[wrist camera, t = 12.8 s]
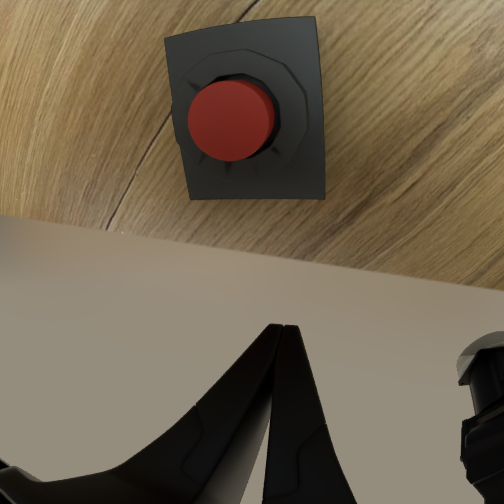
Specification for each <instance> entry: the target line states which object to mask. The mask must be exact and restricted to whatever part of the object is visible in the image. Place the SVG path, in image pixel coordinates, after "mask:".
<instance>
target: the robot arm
mask: <svg viewBox="0 0 504 504" xmlns="http://www.w3.org/2000/svg"><path fill="white" fill-rule="evenodd" d="M458 383H459V386H463V385H469V386H470V390H471V396H472V400H473V406H474V411H475V416H473V417H471V418H469V419H466V420H464V421H462V430H461V456H460V461H461V462H463V464H464V466H465V469H466V470H467V471H466V478H467V480H468V481H469V482H470V483H471V484H473V486H474V487H475V488H476V489H477V490H478V492H479V493H480V494H481V495H482V496H483V498H484V504H504V347H496V348H485V349H480V350H478V351H477V353H476V355H475V356H474V358H473V360H472V361H471V363H470V364H469V366H468V368H467V369H466V371H465V372H464V374H463V375H462V377H461V378H460V380H459V381H458ZM269 419H270V427H269V438H268V449H267V460H266V469H265V479H264V488H263V500H262V504H357V502H356V500H355V498H354V496H353V493H352V491H351V489H350V487H349V484H348V482H347V480H346V478H345V476H344V474H343V471H342V469H341V466H340V464H339V461H338V459H337V456H336V453H335V451H334V448H333V444H332V441H331V438H330V434H329V431H328V427H327V424H325V423H326V421H325V417H324V413H323V410H322V406H321V403H320V399H319V396H318V392H317V388H316V385H315V381H314V377H313V374H312V370H311V367H310V363H309V360H308V357H307V353H306V350H305V346H304V343H303V339H302V336H301V333H300V329H299V327H298V326H297V325H285V326H283V325H281V324H269V325H268V326H267V327H266V328H265V329H264V330H263V331H262V333H261V334H260V335H259V336H258V337H257V338H256V339H255V341H254V342H253V343H252V344H251V345H250V346H249V347H248V348H247V349H246V350H245V352H244V353H243V354H242V355H241V356H240V357H239V358H238V359H237V361H236V362H235V363H234V364H233V365H232V366H231V367H230V368H229V369H228V370H227V371H226V372H225V374H223V376H222V377H221V378H220V379H219V380H218V381H217V382H216V383H215V384H214V385H213V386H212V387H211V388H210V389H209V390H208V391H207V392H206V394H205V395H204V396H203V397H202V398H201V399H200V400H199V401H198V402H197V403H196V406H195V405H194V406H193V407H192V408H191V409H190V410H189V411H188V412H187V413H186V414H185V415H184V416H183V417H182V418H181V419H180V420H179V421H178V422H176V423H175V424H174V425H173V426H172V427H171V428H170V429H168V430H167V431H166V432H165V433H164V434H162V435H161V436H160V437H158V438H157V439H156V440H154V441H153V442H152V443H151V444H149V445H148V446H146V447H145V448H144V449H142V450H141V451H140V452H138V453H137V454H135V455H134V456H133V457H131V458H130V459H128V460H127V461H125V462H124V463H122V464H121V465H119V466H117V467H115V468H112V469H110V470H107V471H104V472H99V473H95V474H91V475H85V476H80V477H75V478H70V479H64V480H57V481H50V482H43V481H41V480H39V479H37V478H36V477H34V476H32V475H31V474H29V473H27V472H26V471H24V470H22V469H20V468H19V467H16V466H12V467H11V466H10V465H9V464H7V463H6V462H5V461H3V460H2V459H0V504H240V502H241V499H242V496H243V494H244V491H245V488H246V485H247V483H248V480H249V477H250V475H251V472H252V469H253V467H254V464H255V461H256V458H257V455H258V452H259V449H260V446H261V443H262V440H263V438H264V434H265V432H266V428H267V425H268V422H269Z"/></svg>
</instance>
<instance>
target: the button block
mask: <svg viewBox="0 0 504 504" xmlns="http://www.w3.org/2000/svg"><path fill="white" fill-rule="evenodd" d="M164 43H165V51H166V59H167V66H168V73H169V80H170V87H171V94H172V101H173V103H172V105H171V113H172V120H173V126H174V131H175V137H176V142H177V143H178V144H179V146H180V149H181V154H182V160H183V165H184V171H185V176H186V181H187V187H188V192H189V197H190V200H216V199H317V200H325V139H324V114H323V96H322V81H321V68H320V56H319V45H318V35H317V26H316V18H315V16H304V17H285V18H272V19H262V20H253V21H245V22H238V23H232V24H226V25H220V26H214V27H209V28H204V29H200V30H195V31H191V32H186V33H182V34H178V35H174V36H170V37H167V38H164ZM228 80H244V81H249V82H251V83H254V84H256V85H257V86H259V87H260V88H262V89H263V90H264V91H265V92H266V93H267V95H268V96H269V97H270V99H271V101H272V103H273V106H274V110H275V124H274V127H273V130H272V132H271V134H270V136H269V137H268V138H267V140H266V141H265V142H264V143H263V144H262V146H261V147H260V148H259V149H258V150H257V151H256V152H255V153H253V154H252V155H250V156H248V157H246V158H244V159H241V160H236V161H224V160H219V159H216V158H213V157H211V156H209V155H208V154H206V153H205V152H203V151H202V150H201V149H200V148H199V147H198V146H197V145H196V143H195V142H194V140H193V138H192V136H191V134H190V131H189V127H188V113H189V109H190V106H191V103H192V101H193V100H194V98H195V97H196V95H197V94H198V93H199V92H200V91H201V90H202V89H204V88H205V87H207V86H209V85H211V84H213V83H216V82H220V81H228Z"/></svg>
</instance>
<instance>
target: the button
mask: <svg viewBox="0 0 504 504" xmlns="http://www.w3.org/2000/svg"><path fill="white" fill-rule="evenodd" d="M274 124H275V110H274V106H273V103H272V101H271V99H270V97H269V96H268V95H267V93H266V92H265V91H264V90H263V89H262V88H260V87H259V86H257V85H256V84H254V83H251V82H249V81H244V80H228V81H220V82H216V83H213V84H211V85H209V86H207V87H205V88H204V89H202V90H201V91H200V92H199V93H198V94H197V95H196V97H195V98H194V100H193V101H192V103H191V106H190V109H189V113H188V127H189V131H190V134H191V136H192V138H193V140H194V142H195V143H196V145H197V146H198V147H199V148H200V149H201V150H202V151H203V152H205V153H206V154H208V155H209V156H211V157H213V158H216V159H219V160H224V161H236V160H241V159H244V158H246V157H248V156H250V155H252V154H253V153H255V152H256V151H257V150H258V149H259V148H260V147H261V146H262V144H263V143H264V142H265V141H266V140H267V138H268V137H269V136H270V134H271V132H272V130H273V127H274Z"/></svg>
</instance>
